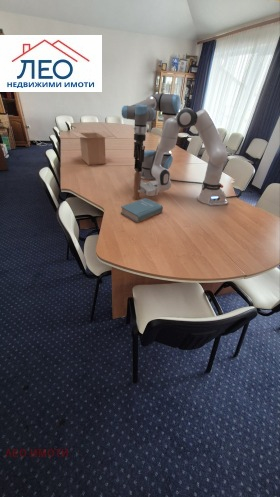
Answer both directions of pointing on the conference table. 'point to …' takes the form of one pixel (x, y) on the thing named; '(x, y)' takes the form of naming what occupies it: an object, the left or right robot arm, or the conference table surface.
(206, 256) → the conference table surface
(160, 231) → the conference table surface
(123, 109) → the left robot arm
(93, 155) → the box
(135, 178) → the bottle
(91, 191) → the conference table surface
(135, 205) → the book
